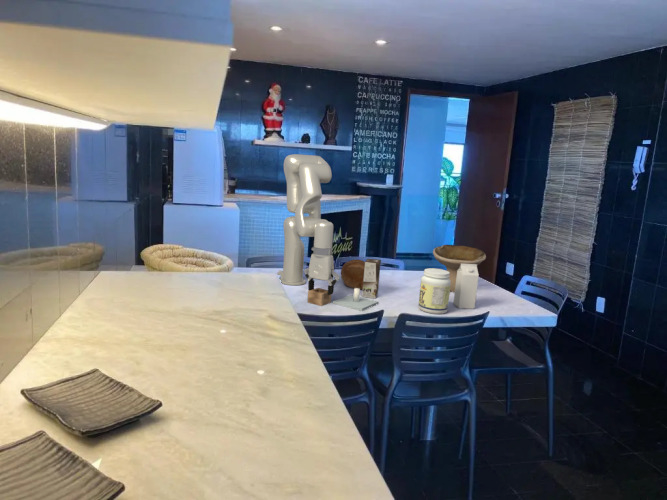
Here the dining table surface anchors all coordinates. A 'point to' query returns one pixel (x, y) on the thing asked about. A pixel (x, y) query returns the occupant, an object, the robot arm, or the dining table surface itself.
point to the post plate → (357, 304)
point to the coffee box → (371, 278)
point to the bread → (353, 273)
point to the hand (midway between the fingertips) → (320, 292)
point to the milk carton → (466, 286)
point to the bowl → (457, 259)
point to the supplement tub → (434, 291)
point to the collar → (319, 296)
